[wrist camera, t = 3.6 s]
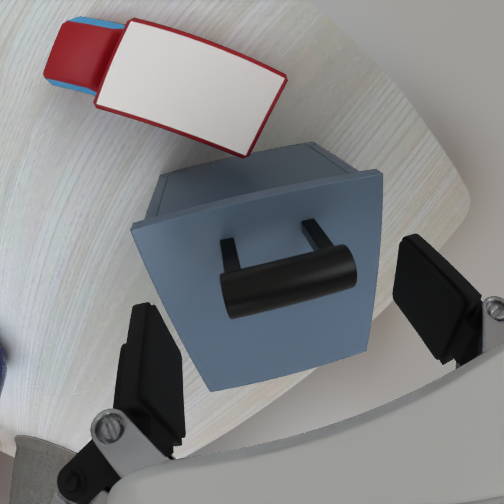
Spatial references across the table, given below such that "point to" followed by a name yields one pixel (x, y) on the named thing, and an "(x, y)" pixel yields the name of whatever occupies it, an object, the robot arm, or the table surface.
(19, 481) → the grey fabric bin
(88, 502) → the robot arm
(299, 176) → the blue open box
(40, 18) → the table surface
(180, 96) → the toy truck
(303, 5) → the table surface
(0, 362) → the planter
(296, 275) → the lid
